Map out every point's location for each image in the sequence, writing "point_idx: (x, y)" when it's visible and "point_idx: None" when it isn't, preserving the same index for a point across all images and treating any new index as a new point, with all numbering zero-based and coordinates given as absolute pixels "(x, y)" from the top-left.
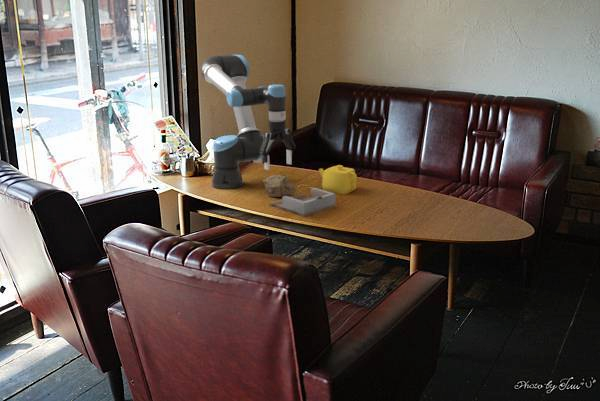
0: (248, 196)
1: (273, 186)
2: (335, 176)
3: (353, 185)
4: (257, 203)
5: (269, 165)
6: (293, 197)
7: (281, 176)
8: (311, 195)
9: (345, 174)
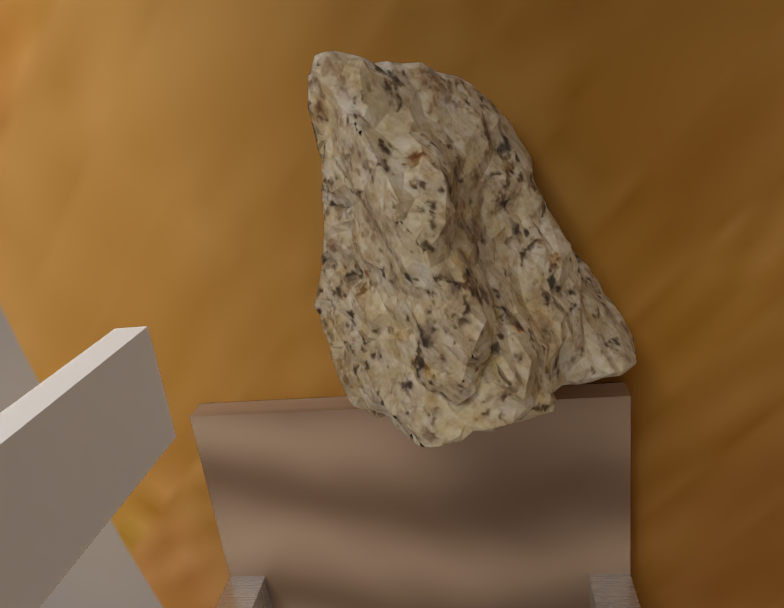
0: (158, 21)
1: (329, 315)
2: None
3: None
4: (135, 294)
5: (130, 491)
6: (481, 449)
7: (454, 383)
8: (595, 603)
9: None
